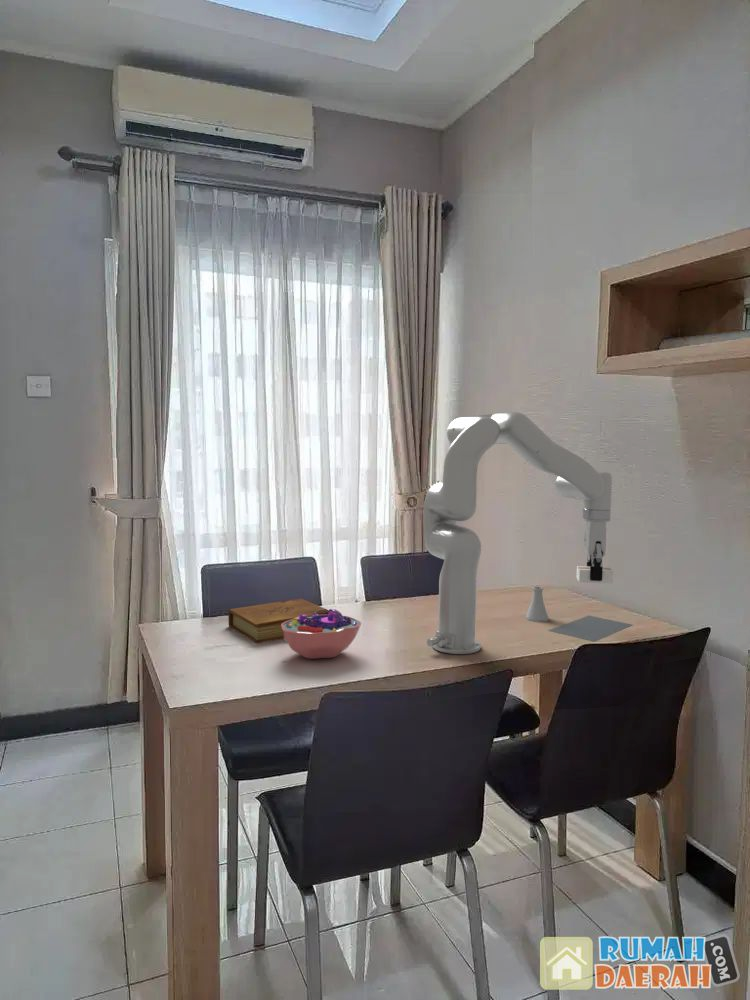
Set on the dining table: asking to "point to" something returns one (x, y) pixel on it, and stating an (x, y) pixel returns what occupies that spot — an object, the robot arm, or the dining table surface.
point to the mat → (590, 628)
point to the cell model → (320, 634)
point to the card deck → (584, 575)
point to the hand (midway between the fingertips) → (594, 577)
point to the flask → (537, 607)
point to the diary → (269, 618)
